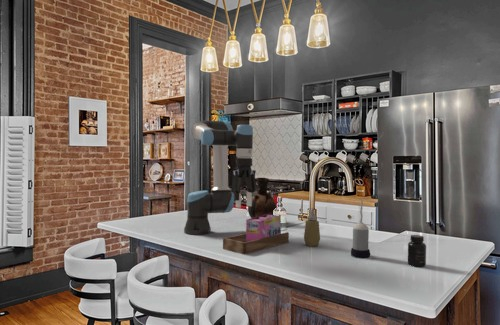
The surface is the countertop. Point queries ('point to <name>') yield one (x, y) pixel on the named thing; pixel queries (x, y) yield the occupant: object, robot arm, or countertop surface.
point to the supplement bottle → (417, 251)
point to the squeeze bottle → (312, 230)
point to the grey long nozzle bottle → (360, 238)
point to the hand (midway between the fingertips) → (243, 206)
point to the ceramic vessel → (262, 200)
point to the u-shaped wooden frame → (253, 243)
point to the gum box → (263, 227)
